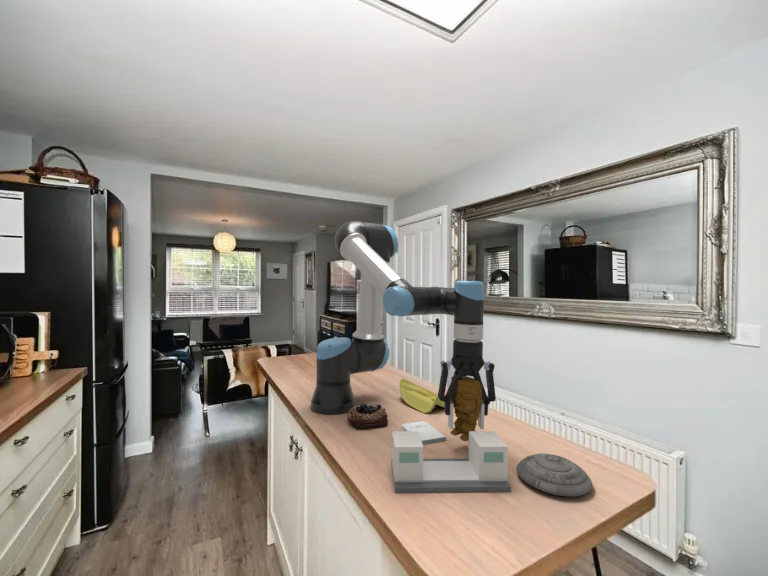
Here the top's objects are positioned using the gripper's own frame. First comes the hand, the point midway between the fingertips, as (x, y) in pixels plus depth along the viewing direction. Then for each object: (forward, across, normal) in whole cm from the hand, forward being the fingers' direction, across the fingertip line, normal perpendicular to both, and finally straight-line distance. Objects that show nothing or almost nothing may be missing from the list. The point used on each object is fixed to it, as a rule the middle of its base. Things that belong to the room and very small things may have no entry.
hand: (465, 427), depth 92 cm
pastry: (+7, -26, +18) cm, 32 cm away
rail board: (+6, -8, -13) cm, 16 cm away
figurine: (+2, 0, 0) cm, 2 cm away
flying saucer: (+6, +15, -15) cm, 22 cm away
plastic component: (+7, -6, +35) cm, 36 cm away
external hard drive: (+7, -10, +9) cm, 15 cm away
